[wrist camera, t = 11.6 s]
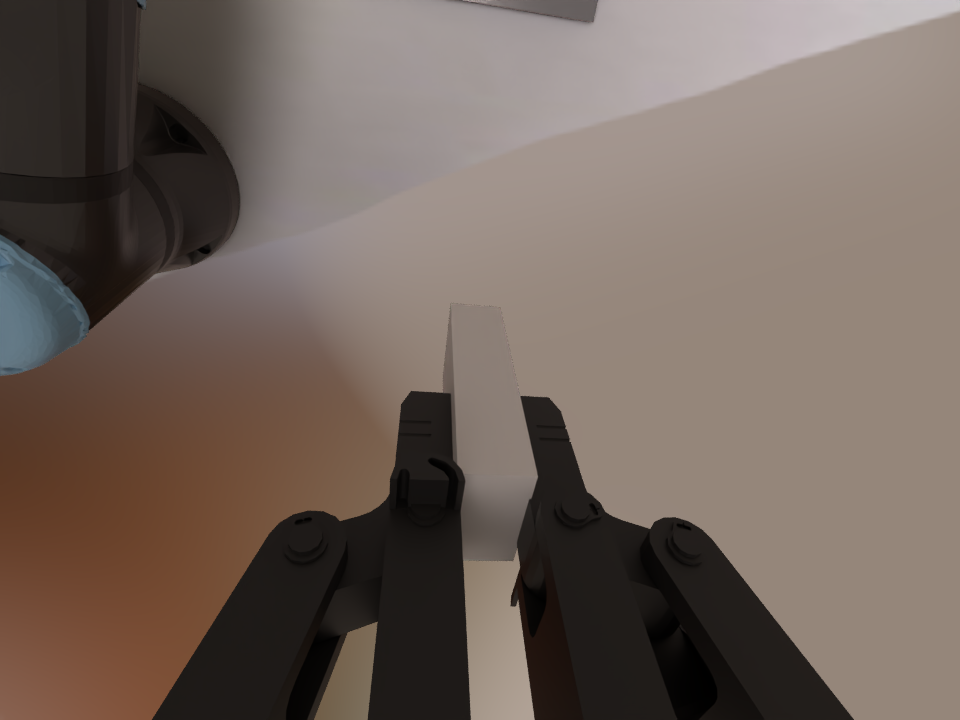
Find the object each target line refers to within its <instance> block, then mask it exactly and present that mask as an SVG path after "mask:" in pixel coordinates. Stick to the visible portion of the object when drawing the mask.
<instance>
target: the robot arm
mask: <svg viewBox="0 0 960 720" xmlns="http://www.w3.org/2000/svg"><path fill="white" fill-rule="evenodd" d="M141 9H144V10H146V0H0V376H1V375H11V374H17V373H21V372H23V371H26V370H31V369H33V368H36V367H39V366H41V365H43V364H45V363H47V362H48V361H50V360H51V359H53V358H54V357H56V356H57V355H59V354H60V353H62V352H63V351H65V350H67V349H68V348H70V347H73V346H75V345H77V344H78V343H80V342H81V341H82V340H83V339H84V338H85V337H86V336H87V335H86V334H87V333H89V330H90V329H92V328H93V327H94V326H95V325H96V324H97V323H99V322H100V321H101V320H102V319H103V318H104V317H106V315H108V314H109V313H110V312H111V311H112V310H114V309H115V308H116V307H117V306H118V305H119V304H121V303H122V302H123V301H124V300H125V299H126V298H128V297H129V296H130V295H131V294H132V293H133V292H134V291H136V290H137V289H138V288H139V287H140V286H141V285H143V284H144V283H145V282H146V281H147V280H148V279H150V278H151V277H152V276H153V275H154V274H156V273H161V272H166V271H171V270H176V269H181V268H186V267H189V266H192V265H195V264H197V263H199V262H201V261H203V260H205V259H206V258H208V257H209V256H211V255H212V254H213V253H214V252H215V251H216V250H217V249H218V248H219V247H221V246H222V245H223V244H224V243H225V241H226V240H227V239H228V238H229V236H230V235H231V233H232V231H233V230H234V227H235V225H236V222H237V218H238V213H239V190H238V185H237V181H236V177H235V174H234V171H233V168H232V166H231V164H230V162H229V159H228V157H227V156H226V154H225V152H224V150H223V149H222V147H221V146H220V144H219V142H218V141H217V140H216V138H215V137H214V136H213V135H212V133H211V132H210V131H209V130H208V129H207V127H206V126H205V125H204V124H203V123H202V122H201V121H200V120H199V119H198V118H197V117H196V116H194V115H193V114H192V113H191V112H190V111H188V110H187V109H186V108H185V107H183V106H182V105H181V104H179V103H178V102H176V101H175V100H173V99H171V98H170V97H168V96H166V95H164V94H162V93H161V92H158V91H156V90H154V89H152V88H149V87H147V86H144V85H141V84H138V64H139V41H140V18H141ZM565 427H566V426H565V423H564V420H563V417H562V414H561V411H560V410H559V409H558V408H557V406H556V405H555V404H554V403H553V402H552V401H551V400H550V398H547V397H529V396H520V393H519V389H518V384H517V380H516V375H515V371H514V366H513V362H512V357H511V353H510V348H509V344H508V339H507V335H506V330H505V326H504V321H503V317H502V312H501V308H500V307H491V306H480V305H467V304H454V303H451V306H450V316H449V324H448V334H447V345H446V353H445V363H444V372H443V393H436V392H418V391H411V392H410V393H409V395H408V396H407V397H406V399H405V400H404V401H403V403H402V404H401V413H400V423H399V432H398V441H397V452H396V462H395V467H394V470H393V473H392V475H391V478H390V494H389V496H388V497H387V499H386V500H385V501H384V502H383V503H382V504H381V505H380V506H379V507H378V508H376V509H374V510H373V511H371V512H369V513H367V514H364V515H361V516H358V517H354V518H351V519H347V520H343V521H339V520H338V519H337V518H336V517H335V516H333V515H330V514H328V513H326V512H324V511H322V512H321V511H305V512H302V513H298V514H294V515H292V516H290V517H288V518H287V519H285V520H283V521H282V522H280V523H279V524H278V525H277V526H276V527H275V528H274V529H273V530H272V532H271V533H270V534H269V535H268V537H267V538H266V540H265V541H264V543H263V545H262V546H261V548H260V549H259V551H258V553H257V554H256V556H255V557H254V559H253V560H252V562H251V564H250V565H249V567H248V568H247V570H246V572H245V573H244V575H243V576H242V578H241V579H240V581H239V583H238V584H237V586H236V587H235V589H234V591H233V592H232V594H231V595H230V597H229V599H228V600H227V602H226V603H225V605H224V606H223V608H222V610H221V611H220V613H219V614H218V616H217V618H216V619H215V621H214V622H213V624H212V626H211V627H210V629H209V630H208V632H207V634H206V635H205V636H204V638H203V640H202V641H201V643H200V644H199V646H198V648H197V649H196V651H195V652H194V654H193V655H192V657H191V659H190V660H189V662H188V663H187V665H186V667H185V668H184V670H183V671H182V673H181V674H180V676H179V678H178V679H177V681H176V682H175V684H174V686H173V687H172V689H171V690H170V692H169V693H168V695H167V697H166V698H165V700H164V702H163V703H162V705H161V706H160V708H159V709H158V711H157V712H156V714H155V716H154V717H153V719H152V720H314V718H315V715H316V713H317V710H318V708H319V705H320V702H321V700H322V697H323V694H324V692H325V690H326V687H327V684H328V682H329V679H330V677H331V674H332V672H333V669H334V666H335V663H336V661H337V659H338V656H339V653H340V651H341V648H342V646H343V643H344V641H345V638H346V635H347V633H348V632H350V631H352V630H355V629H358V628H361V627H364V626H366V625H369V624H372V623H375V622H378V624H377V634H376V644H375V654H374V663H373V674H372V683H371V693H370V703H369V712H368V720H471V716H470V694H469V674H468V654H467V632H466V612H465V590H464V569H463V561H513V560H514V557H515V553H516V550H517V548H518V555H519V561H520V570H519V573H518V576H517V579H516V583H515V586H514V589H513V592H512V595H511V606H516V604H517V601H518V600H519V607H520V615H521V622H522V630H523V637H524V644H525V651H526V659H527V666H528V674H529V681H530V688H531V696H532V703H533V710H534V718H535V720H854V719H853V718H852V717H851V716H850V714H849V713H848V712H847V710H846V709H845V708H844V707H843V705H842V704H841V703H840V701H839V700H838V699H837V698H836V696H835V695H834V694H833V693H832V691H831V690H830V689H829V688H828V686H827V685H826V684H825V682H824V681H823V680H822V679H821V677H820V676H819V675H818V674H817V673H816V671H815V670H814V668H813V667H812V666H811V665H810V663H809V662H808V661H807V659H806V658H805V657H804V656H803V654H802V653H801V652H800V651H799V649H798V648H797V647H796V646H795V644H794V643H793V642H792V640H791V639H790V638H789V637H788V636H787V634H786V633H785V631H783V629H782V628H781V626H780V625H779V624H778V623H777V621H776V620H775V619H774V618H773V616H772V615H771V614H770V612H769V611H768V610H767V609H766V607H765V606H764V605H763V604H762V602H761V601H760V600H759V598H758V597H757V596H756V595H755V593H754V592H753V591H752V590H751V588H750V587H749V586H748V584H747V583H746V582H745V581H744V579H743V578H742V577H741V576H740V574H739V573H738V572H737V571H736V569H735V568H734V567H733V565H732V564H731V563H730V562H729V560H728V559H727V558H726V557H725V555H724V554H723V553H722V551H721V550H720V549H719V548H718V546H717V545H716V544H715V542H714V541H713V540H712V539H711V538H710V537H709V536H708V535H707V534H706V533H705V532H704V531H703V530H702V529H700V528H699V527H697V526H695V525H693V524H692V523H690V522H688V521H685V520H682V519H679V518H676V517H672V518H662V519H660V520H658V521H656V522H654V524H653V525H652V527H651V529H648V528H645V527H642V526H639V525H635V524H632V523H629V522H626V521H623V520H620V519H618V518H615V517H613V516H611V515H609V514H608V513H606V512H605V511H604V509H603V507H602V505H601V503H600V502H599V501H597V500H596V499H595V498H594V497H593V496H592V495H591V494H589V493H587V491H586V488H585V486H584V482H583V479H582V476H581V473H580V470H579V467H578V464H577V461H576V457H575V455H574V451H573V448H572V445H571V442H569V436H568V432H567V430H566V429H565Z"/></svg>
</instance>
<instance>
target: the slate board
mask: <svg viewBox="0 0 960 720" xmlns="http://www.w3.org/2000/svg"><path fill="white" fill-rule="evenodd" d="M461 1H467V2H472V3H478V4H484V5H490V6H496V7H502V8H508V9H514V10H520V11H526V12H532V13H538V14H544V15H550V16H556V17H561V18H567V19H573V20H579V21H585V22H593V20H594V16H595V11H596V7H597V2H598V0H461Z"/></svg>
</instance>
